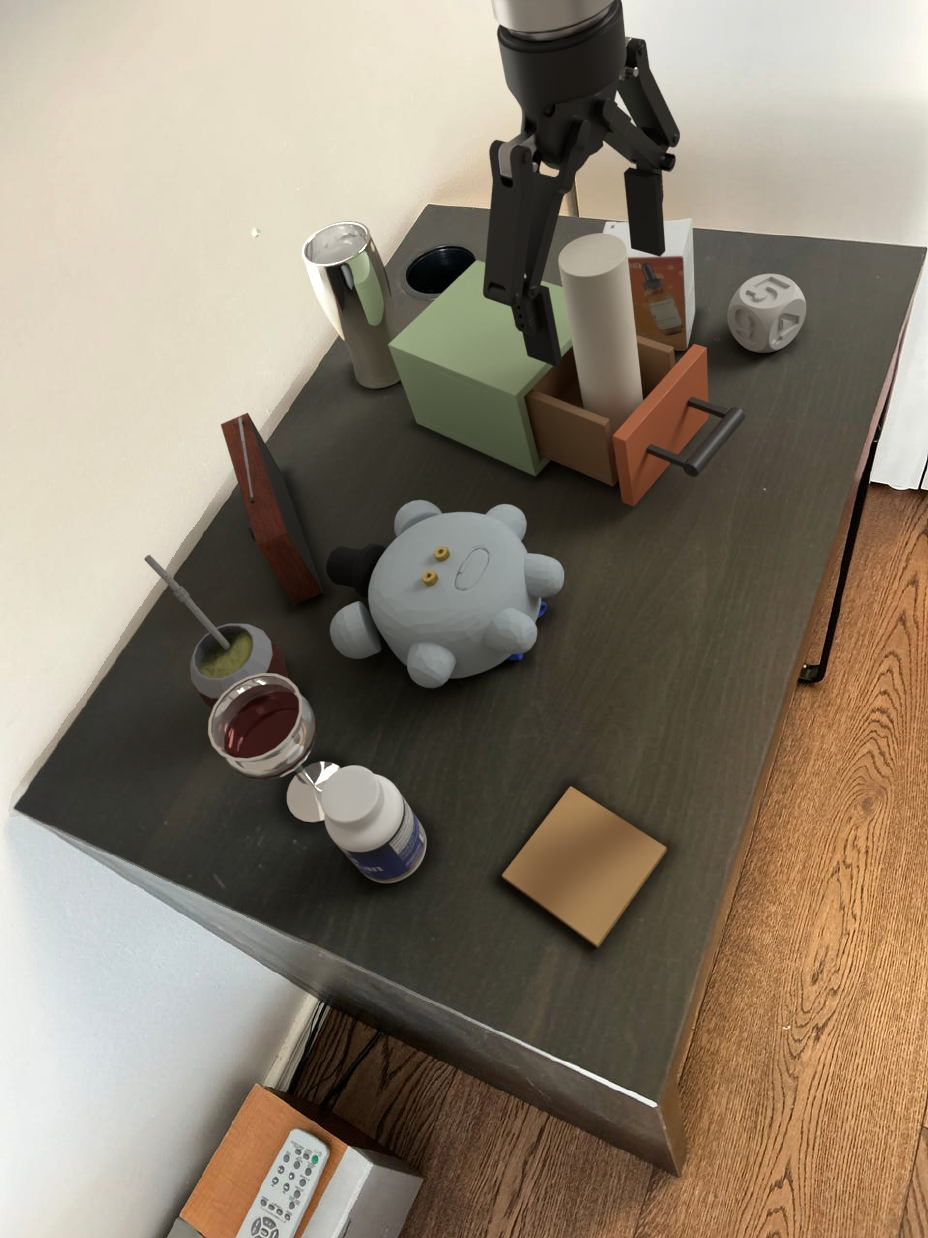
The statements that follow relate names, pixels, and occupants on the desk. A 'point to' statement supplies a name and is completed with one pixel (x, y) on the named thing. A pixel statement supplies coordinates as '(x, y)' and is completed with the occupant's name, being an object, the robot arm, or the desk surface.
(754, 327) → the die
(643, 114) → the robot arm
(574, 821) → the coaster
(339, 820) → the pill bottle
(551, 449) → the drawer
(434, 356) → the cabinet
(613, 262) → the canister
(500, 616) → the figurine
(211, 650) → the mate gourd
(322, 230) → the metal tumbler
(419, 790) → the desk surface
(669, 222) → the small box
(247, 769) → the wineglass
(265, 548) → the radio
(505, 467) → the desk surface
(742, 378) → the desk surface
